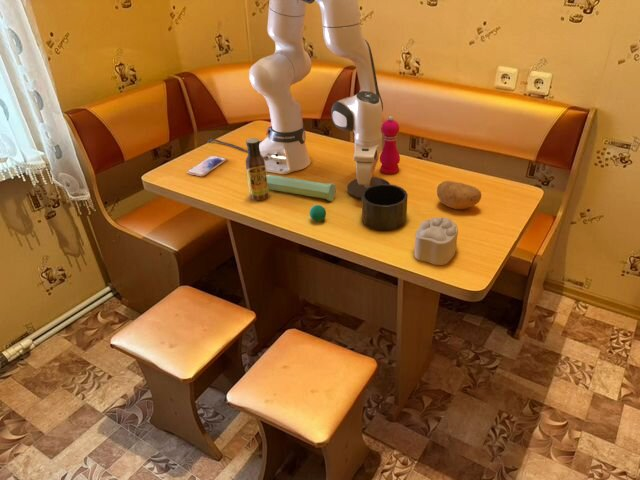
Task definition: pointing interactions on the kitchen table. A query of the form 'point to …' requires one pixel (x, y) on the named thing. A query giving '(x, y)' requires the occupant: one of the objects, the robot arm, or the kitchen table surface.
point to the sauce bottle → (256, 171)
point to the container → (301, 187)
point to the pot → (384, 207)
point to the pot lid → (362, 186)
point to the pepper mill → (390, 147)
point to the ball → (317, 213)
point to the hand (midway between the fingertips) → (368, 184)
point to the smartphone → (206, 166)
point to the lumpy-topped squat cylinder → (436, 241)
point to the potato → (458, 195)
